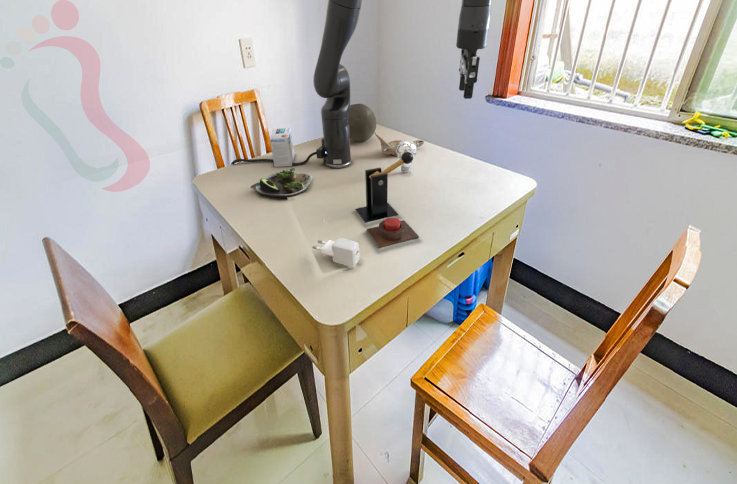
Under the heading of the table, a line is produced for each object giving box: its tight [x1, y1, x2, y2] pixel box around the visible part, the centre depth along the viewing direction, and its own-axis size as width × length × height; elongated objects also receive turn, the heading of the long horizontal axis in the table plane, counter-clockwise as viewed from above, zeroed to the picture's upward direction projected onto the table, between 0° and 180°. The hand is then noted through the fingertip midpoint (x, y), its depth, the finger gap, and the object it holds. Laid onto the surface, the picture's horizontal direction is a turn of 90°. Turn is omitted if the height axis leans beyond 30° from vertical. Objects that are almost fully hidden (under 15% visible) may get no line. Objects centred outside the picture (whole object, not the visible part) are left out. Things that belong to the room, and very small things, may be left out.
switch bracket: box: [355, 167, 400, 224], centre depth 103 cm, size 10×8×13 cm
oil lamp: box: [374, 131, 425, 157], centre depth 142 cm, size 9×21×10 cm, turn 115°
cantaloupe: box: [348, 103, 377, 143], centre depth 151 cm, size 14×14×15 cm
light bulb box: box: [269, 127, 295, 168], centre depth 138 cm, size 11×7×11 cm, turn 5°
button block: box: [366, 219, 420, 249], centre depth 97 cm, size 11×8×4 cm
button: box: [384, 216, 401, 231], centre depth 95 cm, size 4×4×2 cm
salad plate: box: [250, 167, 313, 200], centre depth 123 cm, size 19×18×5 cm
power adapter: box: [311, 237, 361, 270], centre depth 89 cm, size 11×5×6 cm, turn 66°
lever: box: [369, 152, 414, 180], centre depth 101 cm, size 13×3×3 cm, turn 110°
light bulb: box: [396, 139, 418, 174], centre depth 126 cm, size 7×7×12 cm
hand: (465, 94), depth 103 cm, fingers open, 8 cm apart
